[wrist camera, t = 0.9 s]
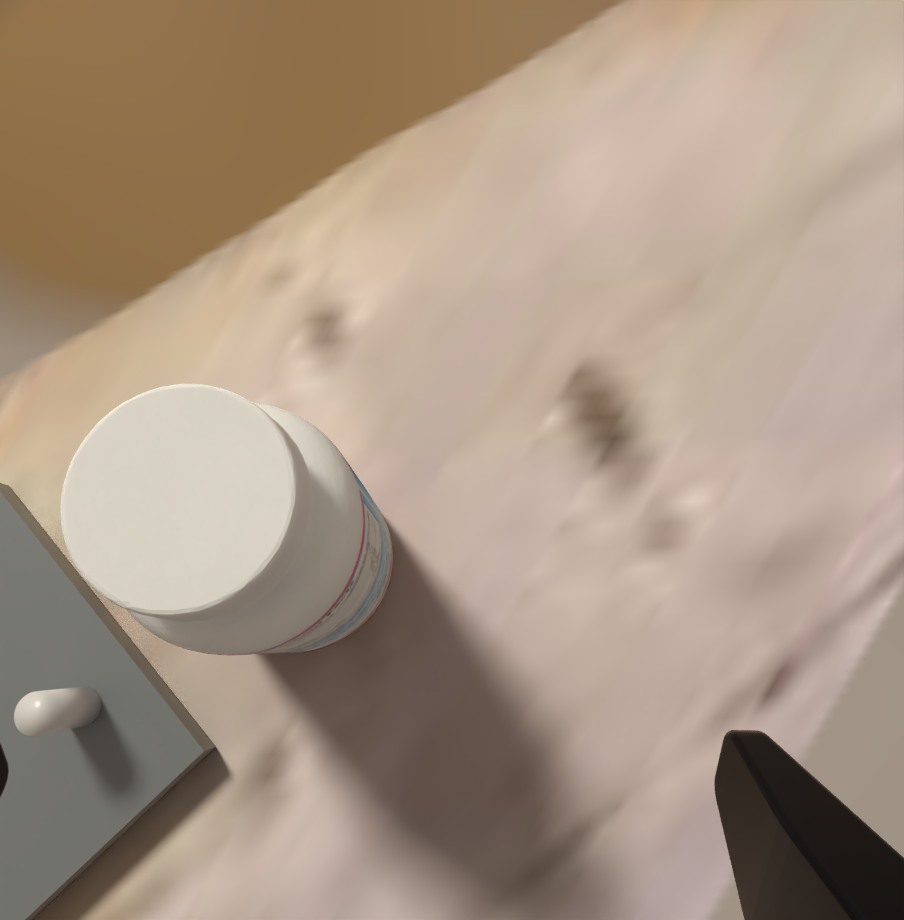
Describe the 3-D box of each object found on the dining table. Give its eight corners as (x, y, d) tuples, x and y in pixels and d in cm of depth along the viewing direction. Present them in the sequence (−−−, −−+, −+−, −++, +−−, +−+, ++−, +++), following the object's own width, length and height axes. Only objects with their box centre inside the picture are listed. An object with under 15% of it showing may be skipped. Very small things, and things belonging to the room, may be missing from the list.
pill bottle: (196, 520, 25) (-19, 419, 14) (356, 450, 25) (269, 300, 14) (255, 684, 23) (66, 715, 12) (423, 607, 24) (384, 570, 13)
